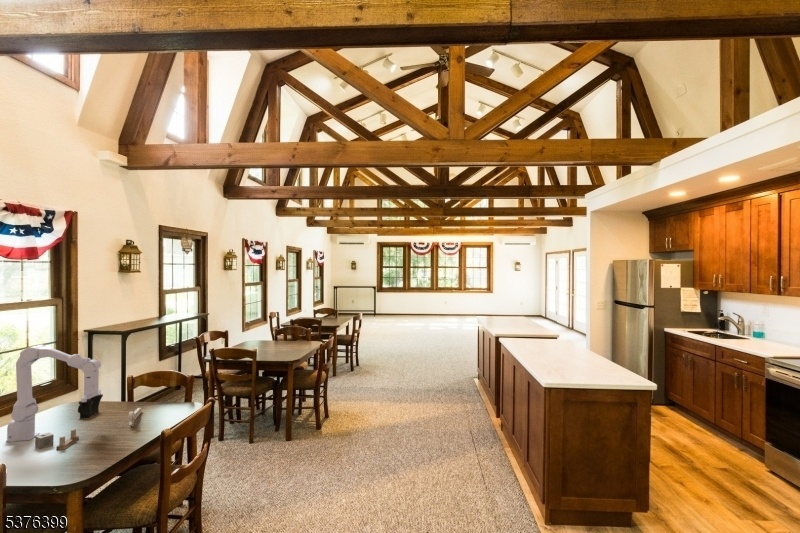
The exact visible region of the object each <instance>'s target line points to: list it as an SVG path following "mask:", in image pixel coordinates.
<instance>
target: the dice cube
mask: <svg viewBox="0 0 800 533" xmlns="http://www.w3.org/2000/svg"><path fill="white" fill-rule="evenodd" d="M34 438H35V440H34V444H35V445H34V447H35V448H36V449H38V450H42V449H46V448H49V447H52V446H54V434H53V433H51V432H45V433H42V434H38V435H37V436H35V437H34Z"/></svg>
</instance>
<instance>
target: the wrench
mask: <svg viewBox="0 0 800 533" xmlns="http://www.w3.org/2000/svg"><path fill="white" fill-rule="evenodd" d="M141 413H142V407H137V409H135V410H134V411H129V412H128V416H127V420H129V423H128V426H129V427H130V426H132V427H134V426H135V421H136V419H137V418H138V417H139V415H140V414H141Z"/></svg>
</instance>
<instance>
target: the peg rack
mask: <svg viewBox="0 0 800 533" xmlns="http://www.w3.org/2000/svg"><path fill="white" fill-rule="evenodd" d="M79 439H80V437H79V435H77V428H74V429H73V428H72V429H70V437H68V438H67V439H66V436H65V435H64V436H63V435H62V436H60V437H59V441H58V443H59V444H58V445H57V446H56V447H55V448H56V451H61V450H65V449H67V448H68V447H70V446H71V445H72V444H74V443H75V442H77V441H78V440H79Z"/></svg>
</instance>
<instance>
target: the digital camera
mask: <svg viewBox="0 0 800 533" xmlns="http://www.w3.org/2000/svg"><path fill="white" fill-rule="evenodd" d="M98 411H99V407H98V410H92V406H91V412H90V415H84V413H83V409H82V407H81V406H80V404H79V405H78V408H77V412H78V414H79V419H89V418H91V417H93V416H94V415H96V414H98V413H99V412H98ZM97 412H98V413H97ZM95 413H96V414H95ZM92 415H93V416H92Z"/></svg>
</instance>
